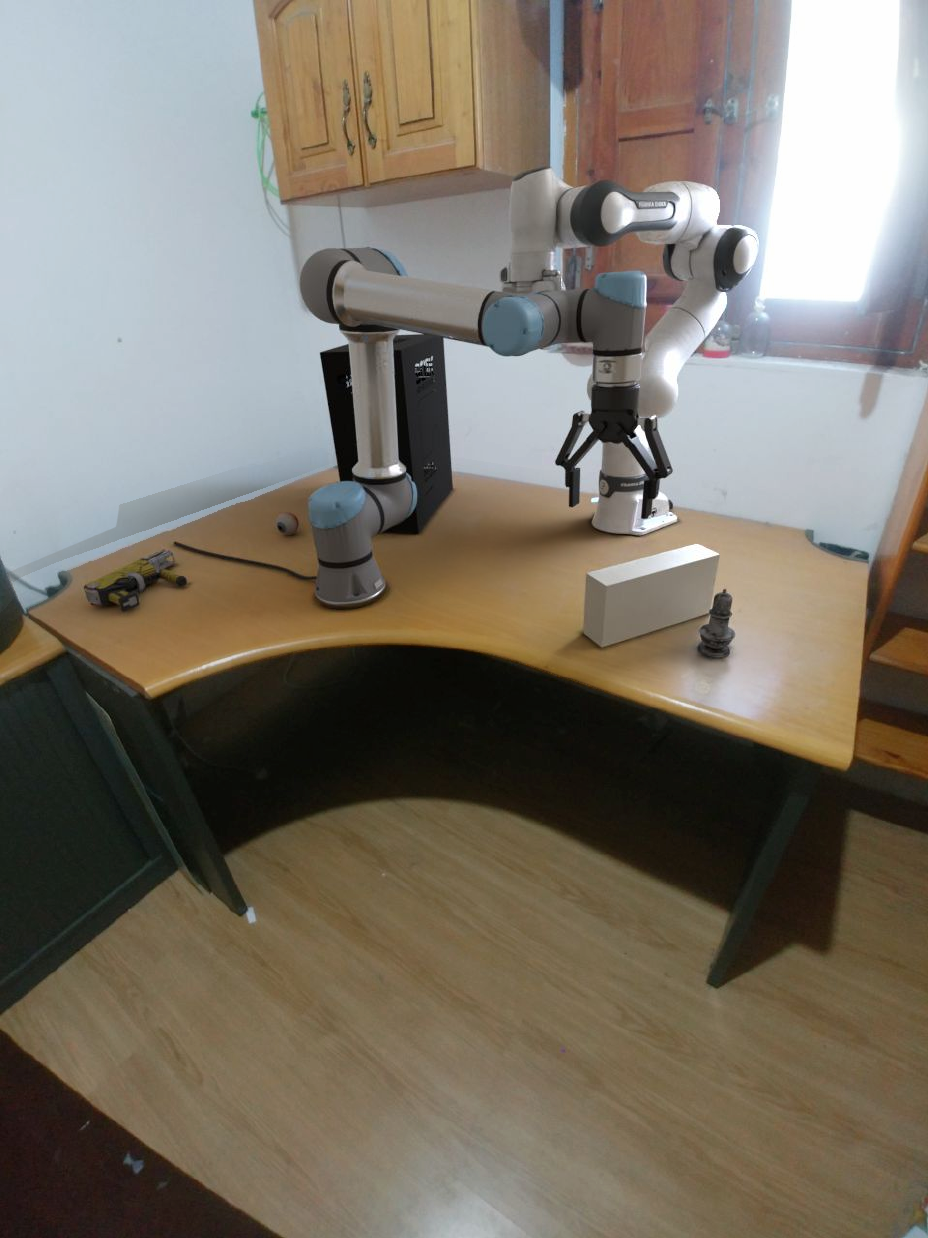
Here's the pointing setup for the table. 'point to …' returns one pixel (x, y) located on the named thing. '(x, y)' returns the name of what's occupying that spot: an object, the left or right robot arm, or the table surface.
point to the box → (649, 594)
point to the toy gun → (132, 581)
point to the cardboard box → (400, 420)
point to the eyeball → (287, 523)
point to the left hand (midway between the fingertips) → (608, 510)
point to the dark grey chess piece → (717, 628)
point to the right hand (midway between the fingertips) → (533, 347)
